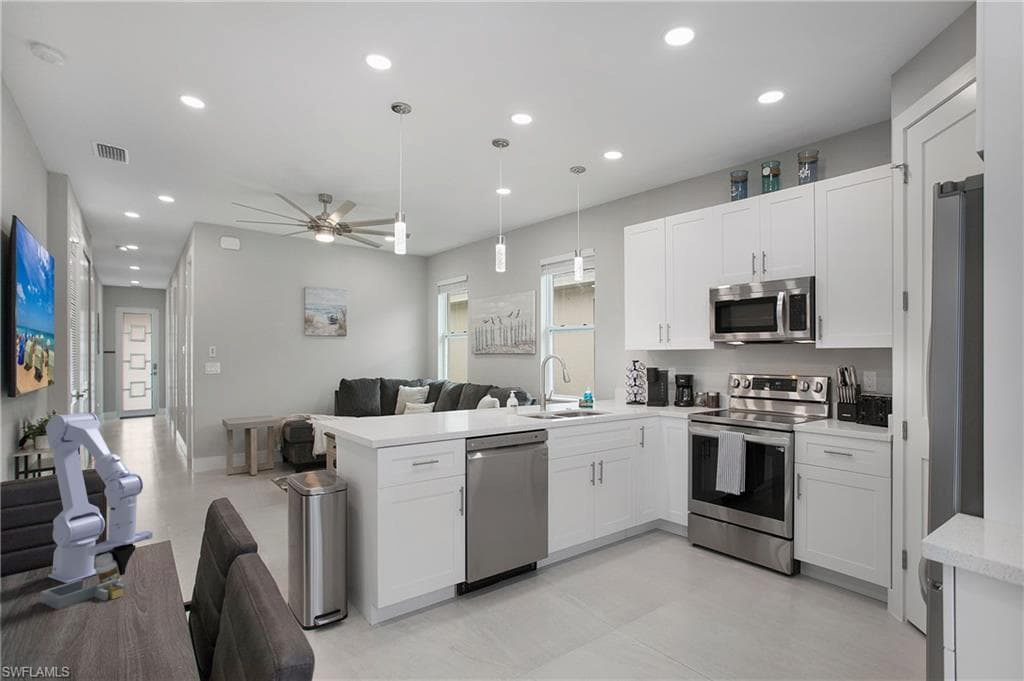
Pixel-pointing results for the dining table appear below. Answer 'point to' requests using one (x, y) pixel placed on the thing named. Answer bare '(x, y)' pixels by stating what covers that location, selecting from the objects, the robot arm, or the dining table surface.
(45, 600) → the dock bay
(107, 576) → the pill bottle
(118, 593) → the lock bar
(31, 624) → the dining table surface
